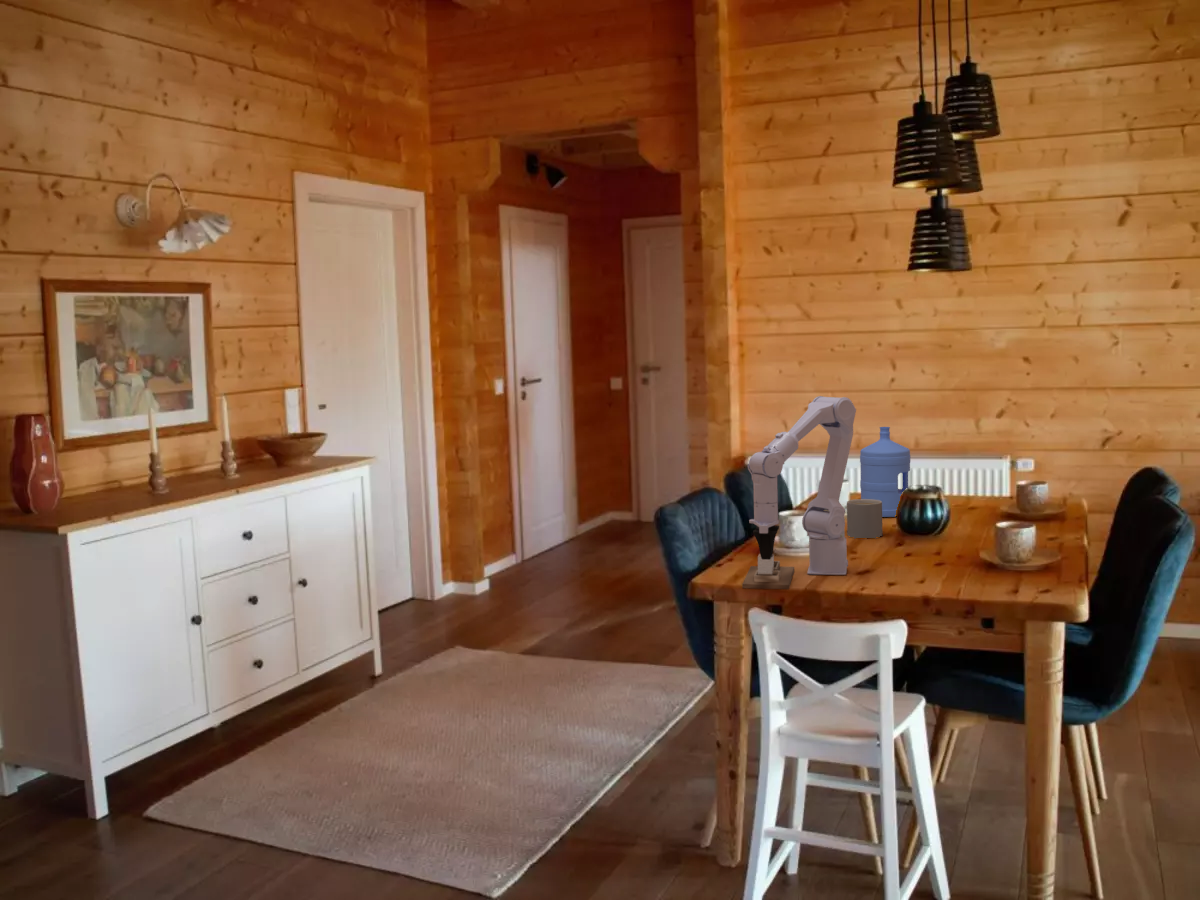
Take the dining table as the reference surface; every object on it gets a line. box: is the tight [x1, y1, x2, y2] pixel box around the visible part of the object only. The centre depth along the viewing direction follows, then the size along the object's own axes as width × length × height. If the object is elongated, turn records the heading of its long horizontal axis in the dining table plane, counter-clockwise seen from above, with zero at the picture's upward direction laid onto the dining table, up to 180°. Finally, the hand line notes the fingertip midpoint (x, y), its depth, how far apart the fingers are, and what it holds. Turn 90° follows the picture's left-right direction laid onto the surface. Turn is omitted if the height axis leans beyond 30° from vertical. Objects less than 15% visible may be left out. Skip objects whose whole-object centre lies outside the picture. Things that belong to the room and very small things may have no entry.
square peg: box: [757, 553, 775, 575], centre depth 276 cm, size 4×4×4 cm
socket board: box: [741, 560, 795, 590], centre depth 281 cm, size 11×20×2 cm, turn 167°
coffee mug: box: [846, 498, 883, 539], centre depth 332 cm, size 13×10×10 cm
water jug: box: [859, 426, 911, 517], centre depth 364 cm, size 16×16×28 cm
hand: (766, 557), depth 276 cm, fingers closed on square peg, 3 cm apart
